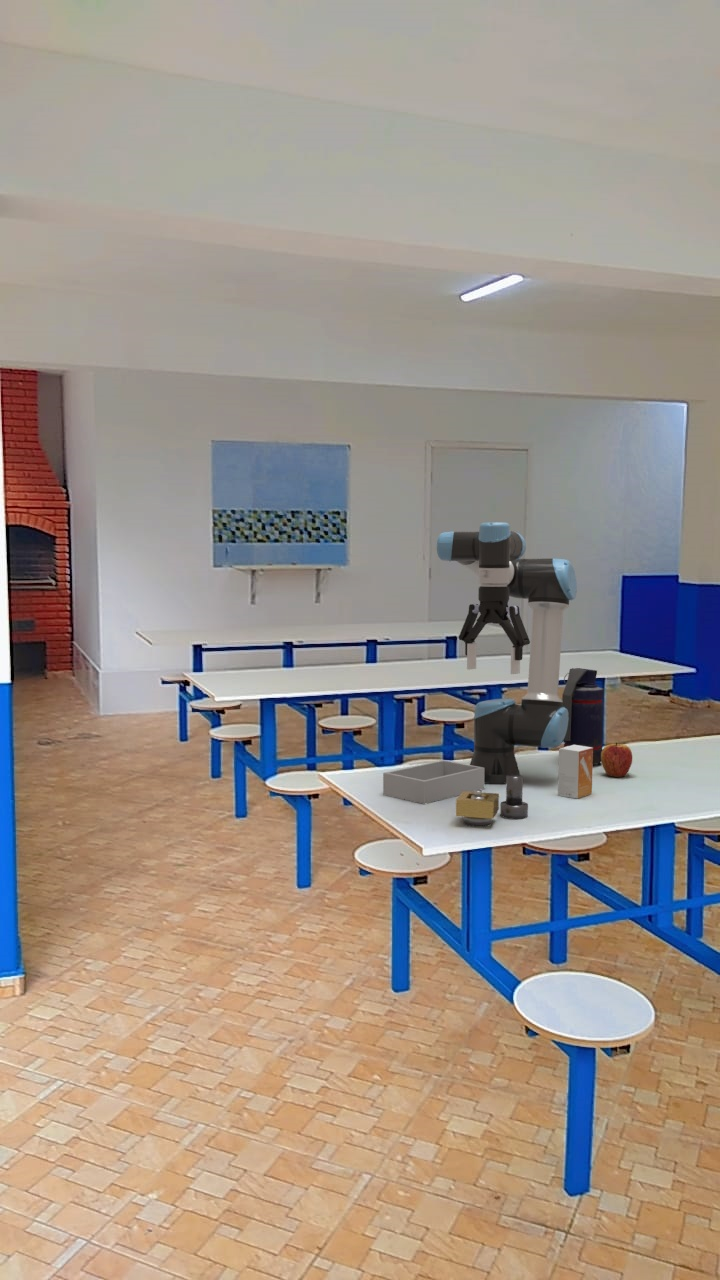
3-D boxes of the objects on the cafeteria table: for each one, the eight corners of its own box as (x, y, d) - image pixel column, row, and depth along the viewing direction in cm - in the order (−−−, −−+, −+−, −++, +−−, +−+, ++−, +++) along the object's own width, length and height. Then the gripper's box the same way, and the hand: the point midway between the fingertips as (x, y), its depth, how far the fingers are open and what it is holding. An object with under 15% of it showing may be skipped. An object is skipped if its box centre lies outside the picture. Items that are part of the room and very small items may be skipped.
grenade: (582, 758, 324) (584, 665, 321) (610, 764, 314) (612, 669, 311) (550, 763, 316) (552, 668, 314) (578, 769, 306) (580, 672, 304)
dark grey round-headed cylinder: (494, 815, 252) (495, 776, 251) (511, 810, 257) (511, 772, 256) (516, 820, 247) (517, 780, 246) (533, 815, 252) (533, 776, 251)
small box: (578, 799, 269) (579, 751, 268) (557, 795, 273) (558, 748, 272) (592, 794, 275) (593, 747, 274) (572, 790, 279) (572, 744, 278)
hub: (457, 822, 245) (457, 790, 244) (475, 817, 250) (475, 786, 249) (479, 828, 240) (479, 795, 240) (497, 822, 245) (497, 790, 244)
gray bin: (383, 794, 274) (383, 772, 274) (443, 780, 292) (443, 759, 291) (424, 804, 263) (424, 781, 263) (484, 788, 281) (484, 767, 280)
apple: (602, 778, 294) (603, 745, 293) (598, 772, 303) (599, 739, 302) (634, 779, 293) (635, 745, 292) (629, 773, 302) (630, 740, 301)
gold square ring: (455, 816, 242) (456, 799, 241) (462, 807, 250) (462, 791, 250) (493, 818, 239) (493, 802, 239) (498, 809, 248) (498, 793, 248)
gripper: (445, 584, 253) (444, 668, 255) (526, 587, 236) (525, 677, 237) (464, 584, 259) (463, 666, 260) (545, 586, 241) (543, 674, 243)
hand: (493, 671), depth 249 cm, fingers open, 13 cm apart
